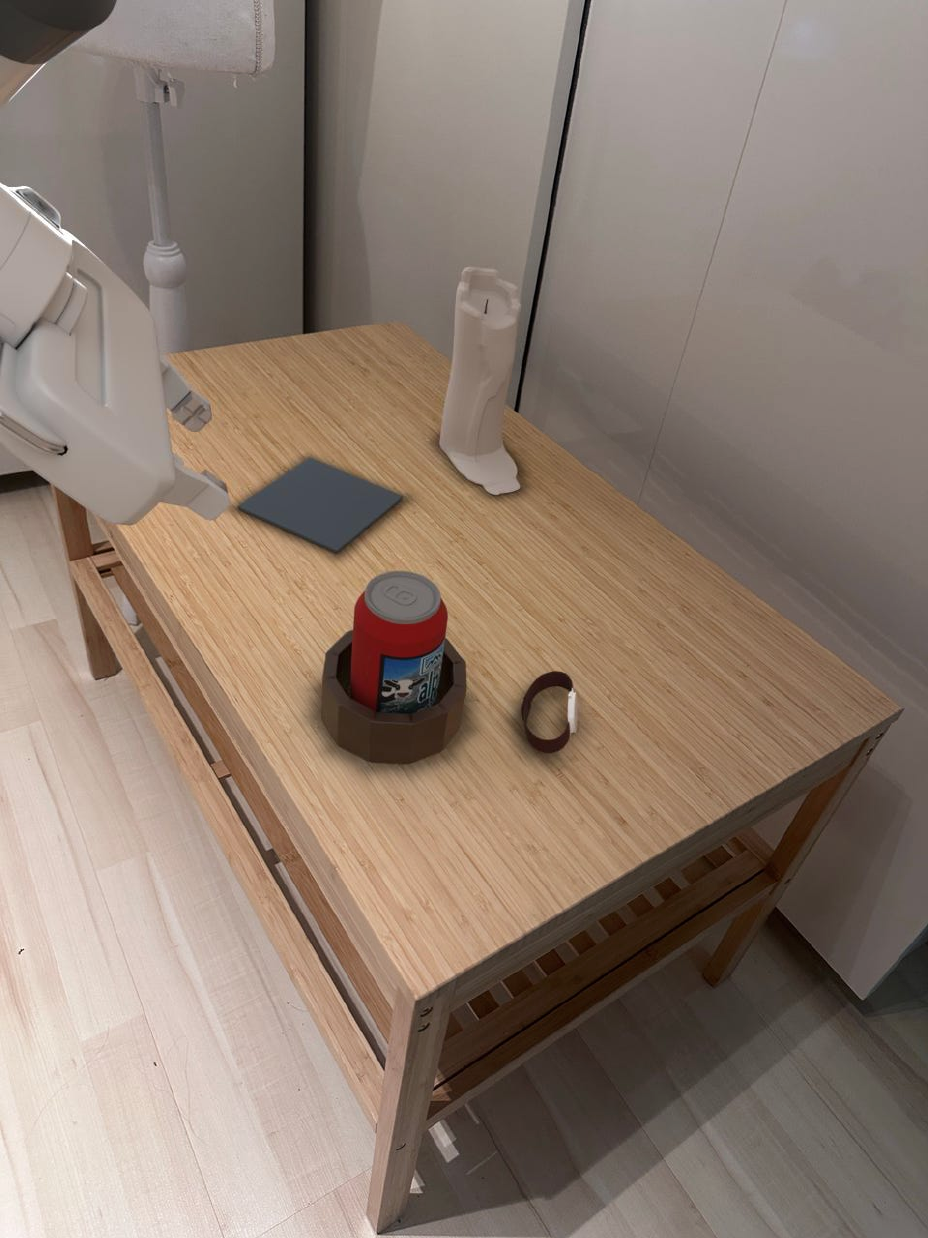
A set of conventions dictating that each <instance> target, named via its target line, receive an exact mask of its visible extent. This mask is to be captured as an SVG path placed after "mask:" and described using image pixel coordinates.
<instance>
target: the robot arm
mask: <svg viewBox="0 0 928 1238" xmlns="http://www.w3.org/2000/svg"><path fill="white" fill-rule="evenodd" d="M117 2H118V0H0V111H1V110H2V109H3V108H4V107H5V106H6V105H7V104H8V103H9V102H10V101H11V100H12V99H13V98H14V97H15V96H16V95H17V94H18V93H19V92H20V91H21V89H23V87H25V86H26V84H27V83H28V82H30V80H31V79H32V78H34V76H35V75H37V73H38V72H39V71H40V70H41V69H42V68H43V67H44V66H45V65H46V64H47V63H49V62H52V61H54V60H55V59H57V57H59V56H61V55H62V54H63V53H65V52H66V51H67V50H69V49H70V48H72V47H73V46H74V45H75V44H76V43H78V42H80V41H81V40H82V39H83V38H85V37H86V36H87V35H89V34H90V33H91V32H92V31H94V30H95V29H97V28H98V27H99V26H101V25H102V24H103V23H105V21H107V20H108V18H110V16H111V14H112V13H113V11H114V9H115V7H116V4H117ZM168 410H169V411H170V412H171V418H172V419H174V420H175V421H176V422H177V423H179V424H180V425H183V426H184V427H185V428H186V429H187V430H188V431H190V432H192V433H198V432H200V431H202V429H203V428H204V427H205V425H206V424H209V422H210V421H211V420H212V418H213V414H212V408H211V403H210V401H209V400H208V399H207V398H205V397H204V396H203V395H202V394H200V393H199V392H198V391H197V390H196V389H194V388H193V387H192V386H191V384H190V383H189V382H188V381H187V380H186V378H185V377H184V376H183V375H182V373H181V372H180V371H179V370H178V369H177V367H176V366H175V365H174V364H173V363H172V361H171V360H170V359H169V358H168V357H167V356H165V355H164V354H163V353H162V352H161V351H160V350H159V344H158V335H157V329H156V321H155V317H154V315H153V314H152V313H151V311H150V310H149V308H148V307H147V306H146V304H145V303H144V302H143V300H141V298H140V297H139V296H138V295H137V294H136V293H135V292H134V290H132V288H131V287H129V285H127V284H126V283H125V281H123V280H122V279H121V278H120V277H119V276H118V275H117V274H116V273H115V272H114V271H113V270H112V269H111V268H110V267H109V266H108V265H106V264H105V262H104V261H102V260H101V259H100V258H99V257H98V256H97V255H96V254H95V253H94V252H93V251H91V250H90V249H89V248H88V247H87V246H86V245H85V244H84V243H83V242H81V241H80V240H79V238H77V237H75V236H74V235H73V234H71V233H70V232H69V231H67V230H65V229H63V228H62V217H61V214H60V212H59V210H57V208H56V207H55V206H54V205H53V204H51V203H50V202H49V201H48V200H47V199H46V198H45V197H43V196H42V195H41V194H40V193H39V192H37V191H35V189H33V188H31V187H29V186H25V185H23V186H16V187H14V186H13V187H9V186H7V185H5V184H3V183H1V182H0V444H1V445H2V446H3V447H4V448H5V449H6V450H7V451H8V452H10V453H11V454H12V455H13V456H14V457H15V458H17V459H18V460H19V461H20V462H21V463H23V464H24V465H25V466H27V467H28V468H29V469H31V471H33V472H35V473H36V474H37V475H39V476H40V477H42V478H43V479H44V480H46V481H47V482H48V483H50V484H51V485H52V486H54V487H55V488H57V489H58V490H59V491H61V492H62V493H64V494H65V495H66V496H68V497H70V499H72V500H74V501H75V502H77V503H78V504H80V505H81V506H83V507H84V508H85V509H87V510H88V511H90V512H91V513H93V514H95V515H96V516H97V517H99V518H101V519H103V520H104V521H106V522H108V523H110V524H113V525H120V526H134V525H136V524H138V523H139V522H140V521H141V520H142V519H143V518H145V517H146V516H147V515H148V514H149V513H150V512H151V511H153V510H154V509H155V508H156V507H157V505H159V503H163V504H169V505H173V506H179V507H186V508H188V509H189V510H191V511H192V512H194V513H195V514H197V515H198V516H199V517H201V518H202V519H204V520H206V521H214V520H217V519H218V518H219V517H220V516H221V515H223V513H224V512H225V511H227V510H228V509H229V508H230V506H231V497H230V494H229V490H228V486H227V484H226V483H225V481H223V480H220V479H219V478H218V477H217V476H216V475H214V474H213V473H212V472H210V471H208V470H207V469H204V470H203V471H202V472H201V473H200V472H198V471H196V470H194V469H192V468H189V467H187V466H185V464H184V460H183V458H181V457H180V456H179V455H177V454H176V453H174V452H173V445H172V438H171V430H170V423H169V417H168Z"/></svg>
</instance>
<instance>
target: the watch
mask: <svg viewBox="0 0 928 1238" xmlns="http://www.w3.org/2000/svg"><path fill="white" fill-rule="evenodd" d="M553 687H558V688H562V689H565V690H566V691H568V692H569V693H568V694H567V697H568V699H567V725H566V728H565V730H564V731H563V732H562V734H560V735H559V736H557V737H556V738H551V739H545V738H541V737H538V736H536V735H535V734H533V732H532V731H531V730H530V729H529V728H528V725H527V723H528V718H529V713H530V711H531V707H532V702H533V700H534V699H535V697H536V696H537V695H538V694H539V693H541V692H542V691H544V690H545V689H549V688H553ZM522 699H523V700H522V702H521V708H520V713H521V720H522V722H523V728H524V735H525V738H526V741H527V742H528V744H529V745H530V746H531V747H532V748H533V749H534V750H536V751H537V752H541V753H543V754H554V753H558V752H559V751H561V750H562V749H564V748H565V747H566V746H567V744H568V742H569V740H570V738H572V734H573V733H574V734H575V733H577V730H578V722H579V721H578V720H579V718H578V717H579V716H578V715H579V704H578V701H579V700H578V693H577V692H576V691H575V690H574V682H573V680H572V678H571V676H570V675H568V674H567V673H565V672H564V671H557V670H554V671H553V670H552V671H549V672H546V673H543V674H541V675H539V676H538V677H536V678H535V679H534V680H533V681H532V683H530V686H529V687H528V689H527V690H526V692H525V694H524V696H523V698H522Z"/></svg>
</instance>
